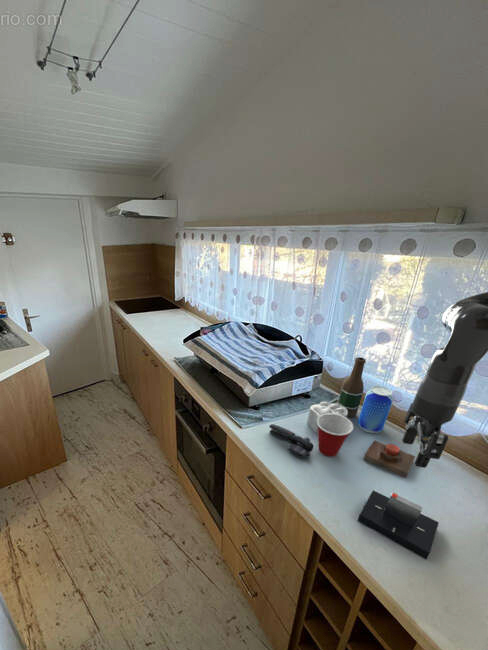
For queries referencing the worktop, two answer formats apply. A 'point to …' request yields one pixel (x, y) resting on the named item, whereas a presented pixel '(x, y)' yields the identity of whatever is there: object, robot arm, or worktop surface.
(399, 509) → the tap handle
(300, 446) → the can opener
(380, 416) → the beer can
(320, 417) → the plastic cup
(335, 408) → the white bumpy block
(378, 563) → the worktop surface
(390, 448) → the button
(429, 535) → the lever switch
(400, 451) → the button block
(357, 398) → the beer bottle
